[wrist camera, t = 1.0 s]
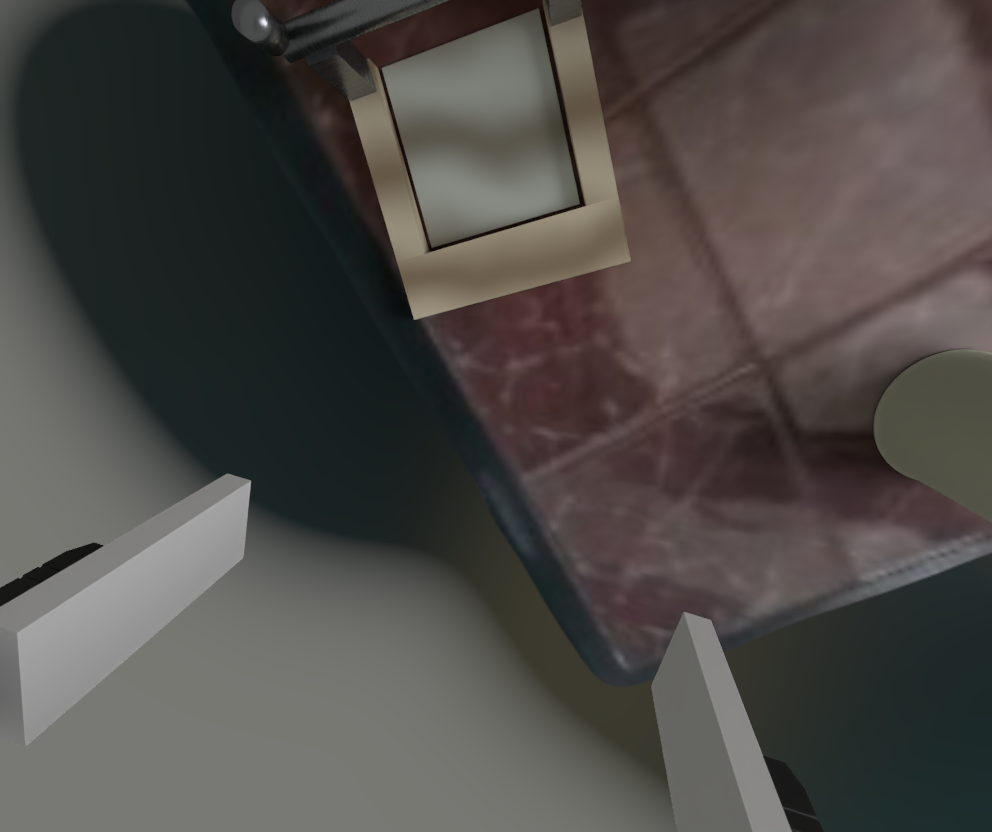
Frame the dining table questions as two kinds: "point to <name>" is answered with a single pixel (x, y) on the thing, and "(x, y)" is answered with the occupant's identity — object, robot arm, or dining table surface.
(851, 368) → the dining table surface
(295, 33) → the grey curved bar
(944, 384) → the can
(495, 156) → the beige flat square frame
